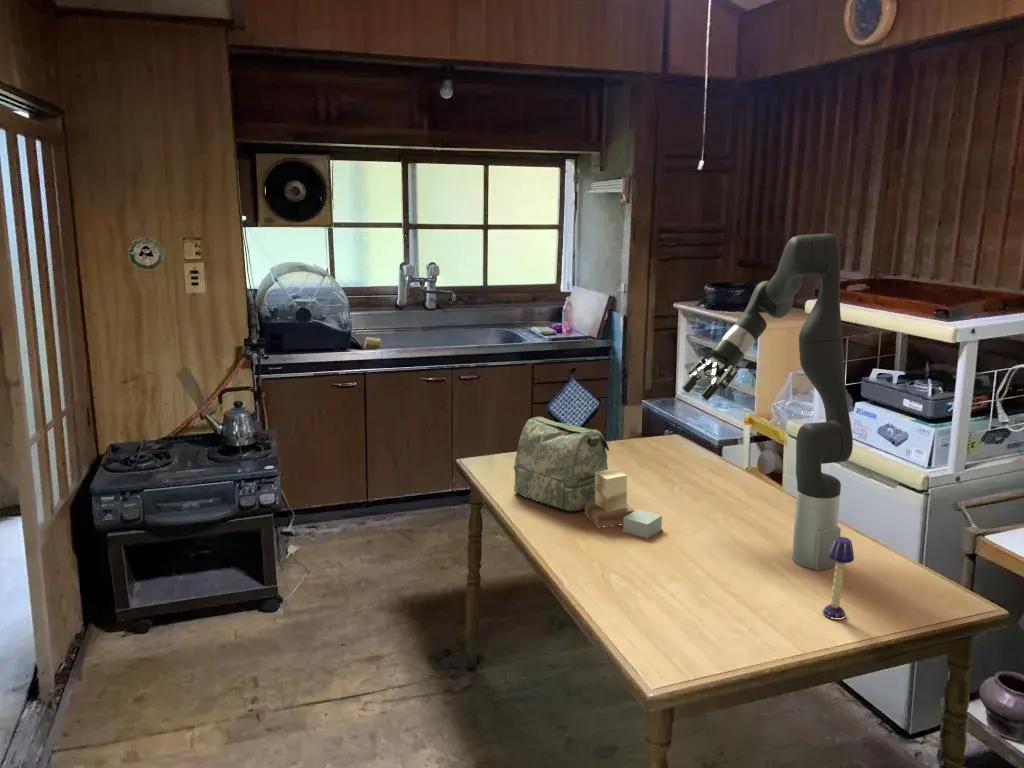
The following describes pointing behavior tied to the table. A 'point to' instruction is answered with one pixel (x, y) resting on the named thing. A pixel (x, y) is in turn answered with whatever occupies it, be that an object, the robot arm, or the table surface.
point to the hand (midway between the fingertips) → (694, 394)
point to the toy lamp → (839, 574)
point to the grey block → (642, 523)
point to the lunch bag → (559, 463)
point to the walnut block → (606, 514)
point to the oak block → (611, 489)
